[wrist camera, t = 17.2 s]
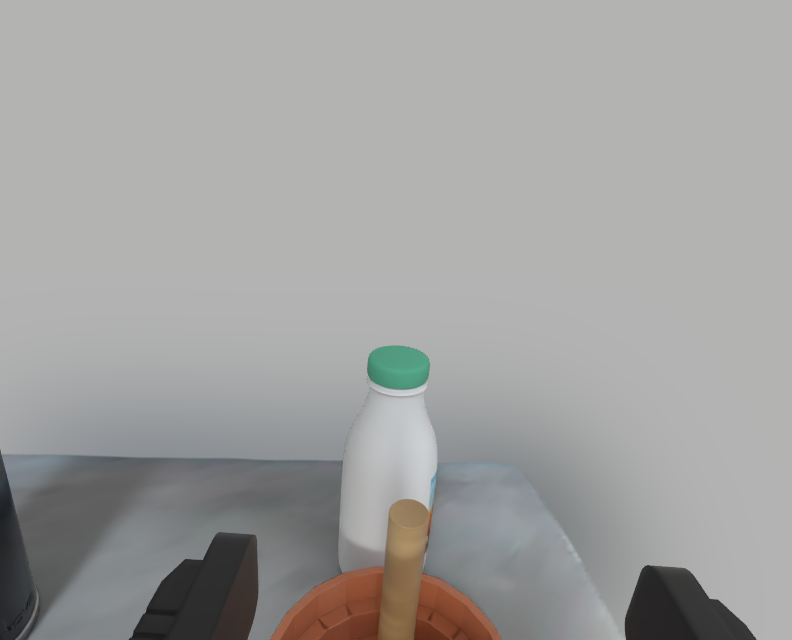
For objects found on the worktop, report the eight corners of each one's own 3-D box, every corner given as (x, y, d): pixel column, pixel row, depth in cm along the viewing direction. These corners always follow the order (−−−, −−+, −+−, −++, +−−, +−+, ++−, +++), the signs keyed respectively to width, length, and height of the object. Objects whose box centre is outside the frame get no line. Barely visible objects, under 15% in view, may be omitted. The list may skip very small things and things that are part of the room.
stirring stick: (345, 774, 27) (360, 545, 21) (353, 690, 31) (367, 479, 25) (422, 779, 27) (458, 552, 21) (419, 694, 31) (449, 485, 25)
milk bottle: (410, 614, 37) (437, 390, 30) (322, 581, 39) (328, 365, 32) (434, 542, 44) (461, 347, 37) (358, 518, 46) (370, 329, 39)
